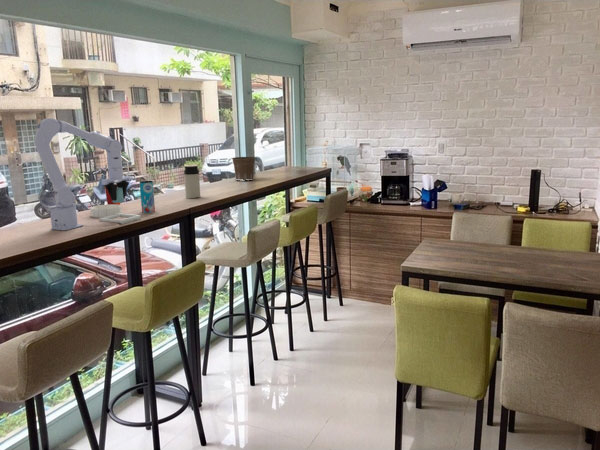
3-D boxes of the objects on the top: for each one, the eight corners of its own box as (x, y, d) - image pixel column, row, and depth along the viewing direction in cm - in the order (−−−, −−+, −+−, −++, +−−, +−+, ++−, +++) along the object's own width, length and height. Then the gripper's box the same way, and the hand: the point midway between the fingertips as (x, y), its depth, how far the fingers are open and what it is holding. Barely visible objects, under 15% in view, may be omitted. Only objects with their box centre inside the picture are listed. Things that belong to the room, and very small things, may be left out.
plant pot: (249, 182, 343) (248, 158, 339) (228, 181, 348) (227, 158, 345) (260, 179, 357) (259, 156, 354) (239, 179, 363) (238, 156, 360)
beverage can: (144, 214, 232) (141, 182, 229) (140, 212, 237) (137, 181, 234) (156, 213, 235) (154, 181, 232) (153, 211, 240) (150, 180, 237)
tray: (121, 224, 211) (120, 220, 211) (99, 222, 216) (99, 218, 216) (141, 219, 222) (140, 215, 221) (120, 217, 227) (119, 213, 226)
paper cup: (117, 210, 244) (114, 182, 241) (103, 210, 246) (100, 181, 243) (125, 207, 252) (123, 180, 249) (111, 207, 253) (109, 179, 250)
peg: (118, 203, 215) (116, 189, 213) (110, 202, 217) (109, 188, 215) (126, 201, 218) (124, 187, 217) (118, 201, 220) (117, 187, 219)
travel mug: (190, 198, 276) (188, 166, 272) (183, 197, 282) (181, 165, 278) (203, 197, 281) (201, 165, 278) (195, 195, 287) (193, 164, 283)
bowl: (106, 219, 222) (105, 209, 221) (85, 218, 227) (84, 208, 226) (127, 214, 233) (126, 205, 232) (106, 213, 238) (105, 203, 237)
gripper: (120, 166, 223) (123, 196, 225) (95, 169, 210) (98, 201, 213) (132, 166, 220) (135, 197, 222) (107, 169, 207) (111, 202, 210)
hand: (118, 199), depth 217 cm, fingers closed on peg, 4 cm apart
